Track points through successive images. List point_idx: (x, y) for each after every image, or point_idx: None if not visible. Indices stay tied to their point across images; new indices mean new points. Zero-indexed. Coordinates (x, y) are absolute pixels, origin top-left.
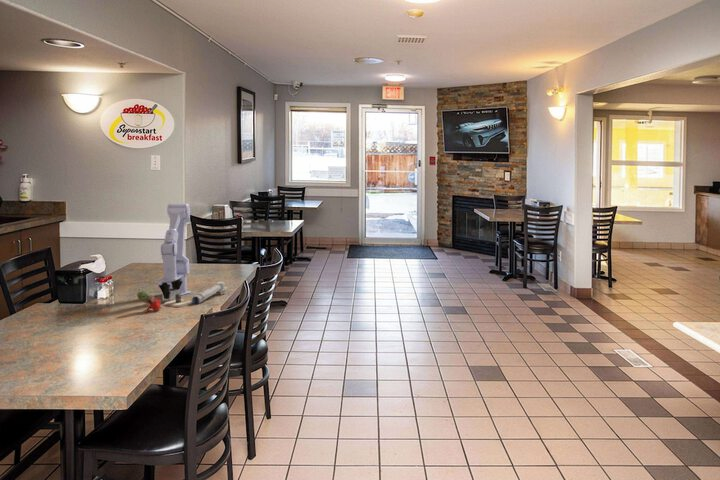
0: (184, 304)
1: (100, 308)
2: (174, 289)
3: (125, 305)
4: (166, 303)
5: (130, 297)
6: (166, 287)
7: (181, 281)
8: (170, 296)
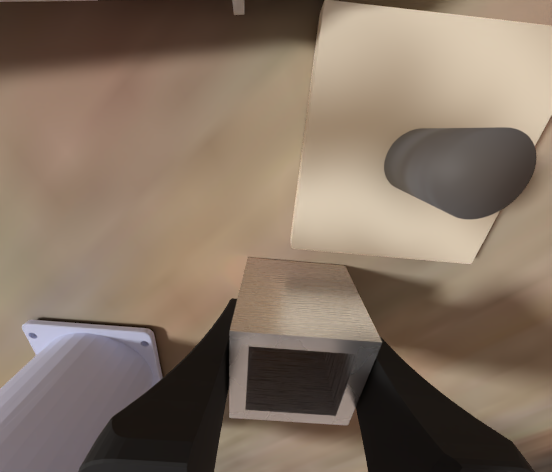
0: (477, 24)
1: (549, 455)
2: (248, 370)
3: (481, 417)
4: (487, 232)
5: (313, 468)
6: (490, 428)
7: (122, 458)
8: (358, 302)
